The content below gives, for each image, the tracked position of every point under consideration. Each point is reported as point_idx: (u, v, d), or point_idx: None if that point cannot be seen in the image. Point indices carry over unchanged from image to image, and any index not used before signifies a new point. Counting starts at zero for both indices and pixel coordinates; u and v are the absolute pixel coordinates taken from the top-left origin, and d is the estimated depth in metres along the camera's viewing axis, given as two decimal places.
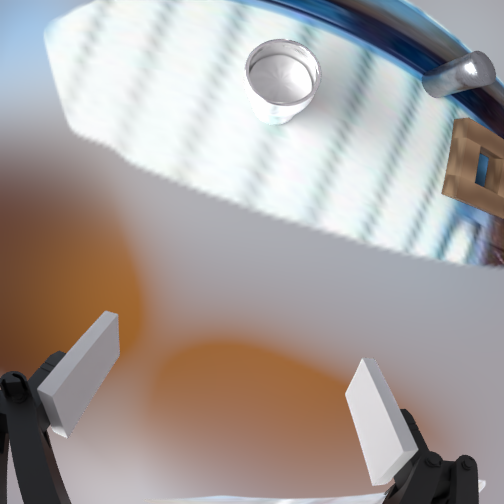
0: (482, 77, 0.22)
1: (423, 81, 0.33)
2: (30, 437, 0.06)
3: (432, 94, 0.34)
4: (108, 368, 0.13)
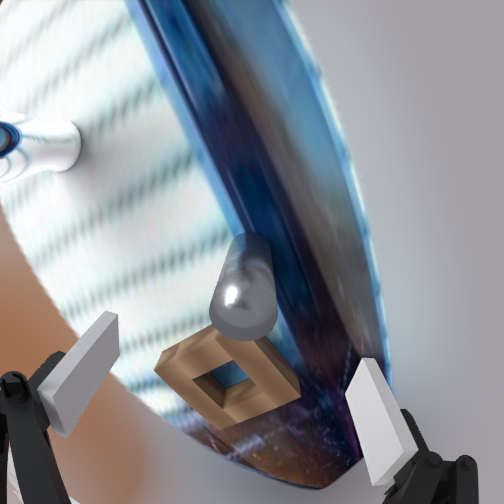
0: (219, 323, 0.19)
1: (233, 240, 0.31)
2: (30, 437, 0.06)
3: None
4: (108, 368, 0.13)
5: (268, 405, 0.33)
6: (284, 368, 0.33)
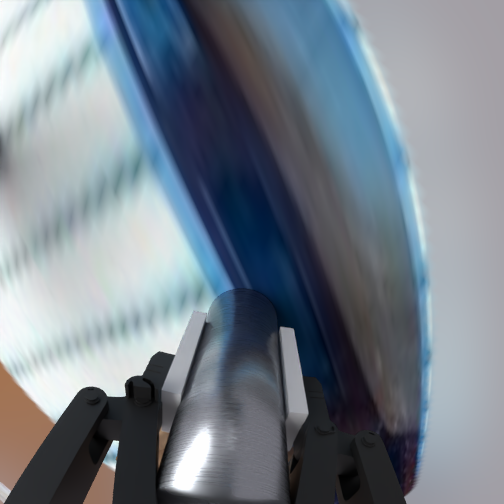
0: None
1: (214, 302, 0.18)
2: (144, 442, 0.07)
3: None
4: None
5: None
6: None
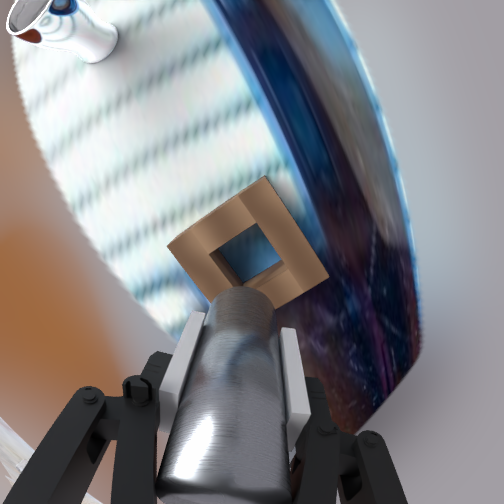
0: None
1: (215, 299, 0.18)
2: (142, 442, 0.07)
3: None
4: None
5: (293, 290, 0.32)
6: (309, 244, 0.33)
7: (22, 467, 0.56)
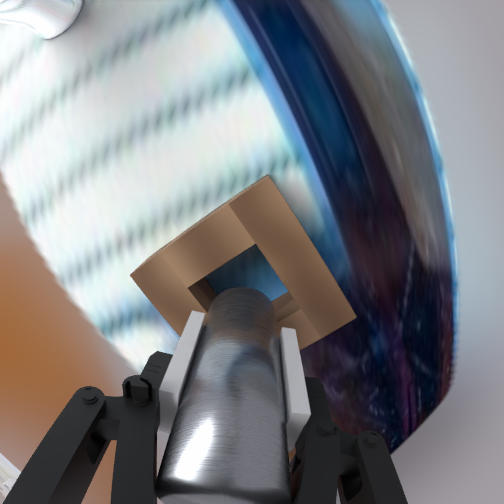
0: None
1: (215, 300, 0.18)
2: (142, 442, 0.07)
3: None
4: None
5: (307, 335, 0.22)
6: None
7: (10, 485, 0.46)
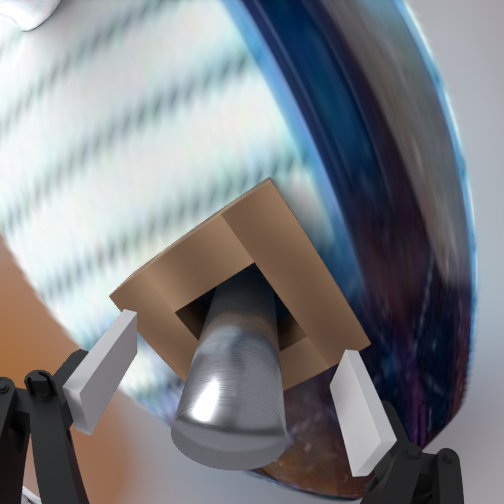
0: (190, 450, 0.10)
1: None
2: (53, 436, 0.06)
3: None
4: (127, 365, 0.14)
5: (313, 365, 0.19)
6: None
7: None
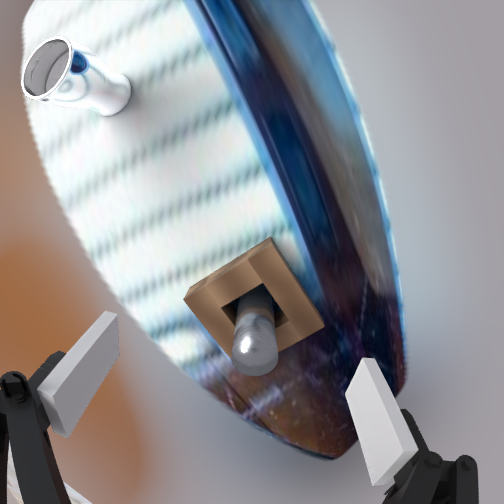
0: (237, 364, 0.27)
1: None
2: (30, 437, 0.06)
3: None
4: (108, 368, 0.13)
5: (293, 337, 0.36)
6: (308, 298, 0.37)
7: None
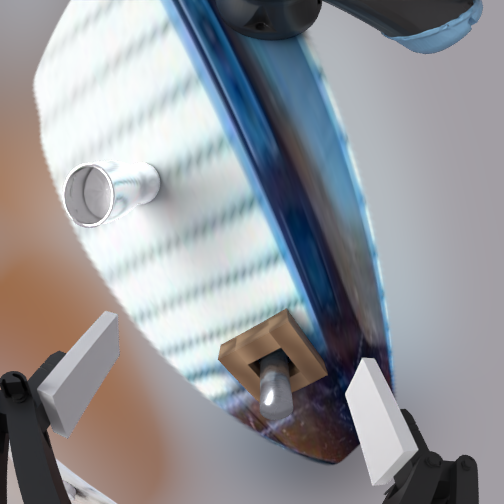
0: (264, 413, 0.36)
1: None
2: (30, 437, 0.06)
3: None
4: (108, 368, 0.13)
5: (303, 382, 0.45)
6: (315, 353, 0.45)
7: None
